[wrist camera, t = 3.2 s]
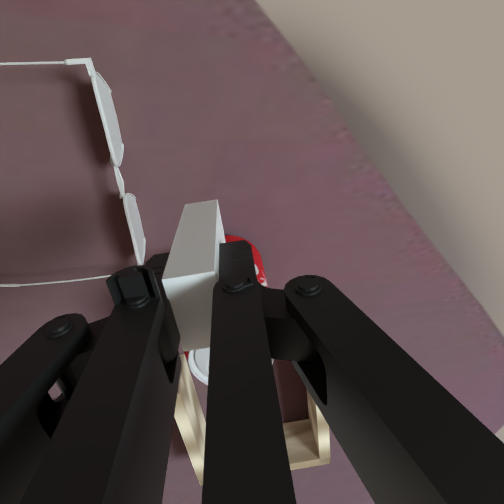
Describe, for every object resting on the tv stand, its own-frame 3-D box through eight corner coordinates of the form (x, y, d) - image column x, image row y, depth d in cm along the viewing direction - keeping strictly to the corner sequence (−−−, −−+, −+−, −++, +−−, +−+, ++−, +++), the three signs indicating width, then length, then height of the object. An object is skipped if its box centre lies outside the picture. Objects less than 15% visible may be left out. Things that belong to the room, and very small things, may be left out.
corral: (172, 355, 35) (166, 395, 31) (313, 332, 35) (326, 368, 31) (202, 443, 42) (200, 485, 38) (318, 423, 42) (330, 463, 38)
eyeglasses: (153, 255, 30) (144, 278, 27) (-55, 275, 29) (-92, 302, 26) (109, 59, 23) (89, 55, 19) (-167, 77, 22) (-241, 76, 19)
